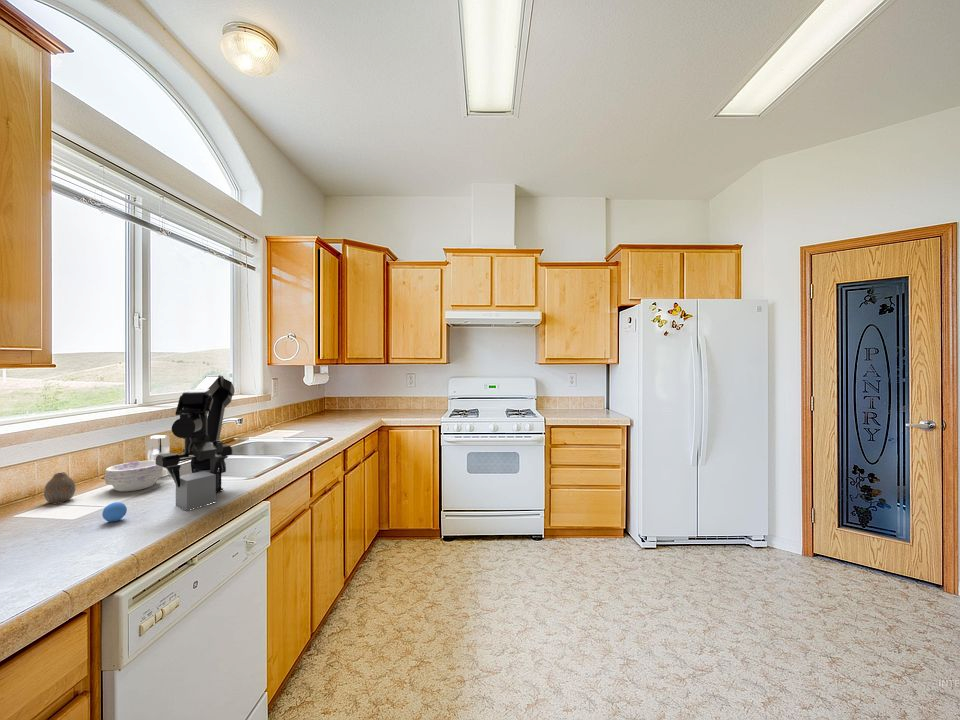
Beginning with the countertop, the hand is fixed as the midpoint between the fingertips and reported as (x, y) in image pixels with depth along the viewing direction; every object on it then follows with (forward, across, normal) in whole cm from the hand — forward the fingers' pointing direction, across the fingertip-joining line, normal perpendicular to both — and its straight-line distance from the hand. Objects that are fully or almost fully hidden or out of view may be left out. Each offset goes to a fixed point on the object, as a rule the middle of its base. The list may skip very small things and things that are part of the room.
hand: (196, 483), depth 125 cm
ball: (+4, -18, +4) cm, 19 cm away
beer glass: (+7, +6, +46) cm, 47 cm away
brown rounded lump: (+7, -22, +38) cm, 44 cm away
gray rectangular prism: (+6, 0, 0) cm, 7 cm away
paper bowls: (+7, -4, +36) cm, 37 cm away
